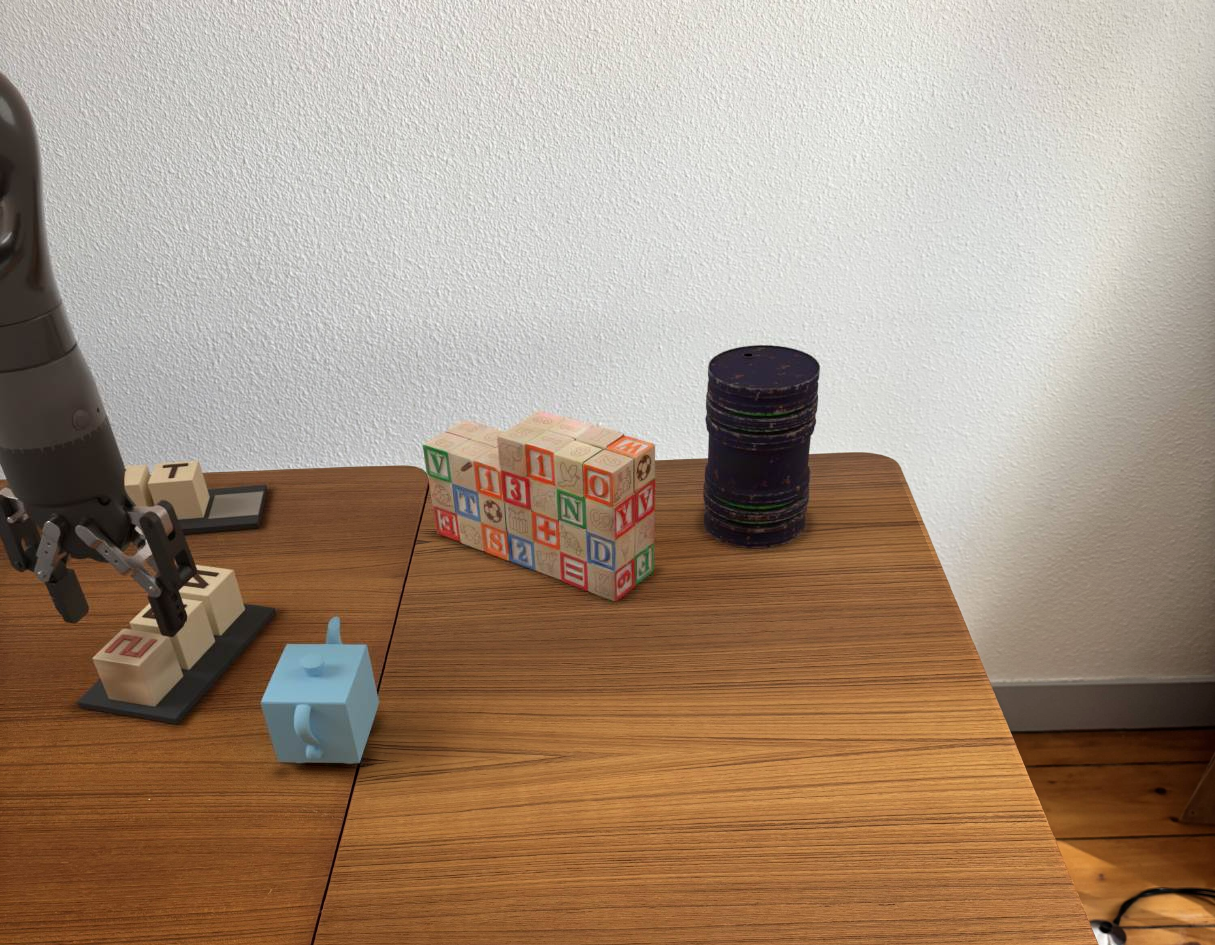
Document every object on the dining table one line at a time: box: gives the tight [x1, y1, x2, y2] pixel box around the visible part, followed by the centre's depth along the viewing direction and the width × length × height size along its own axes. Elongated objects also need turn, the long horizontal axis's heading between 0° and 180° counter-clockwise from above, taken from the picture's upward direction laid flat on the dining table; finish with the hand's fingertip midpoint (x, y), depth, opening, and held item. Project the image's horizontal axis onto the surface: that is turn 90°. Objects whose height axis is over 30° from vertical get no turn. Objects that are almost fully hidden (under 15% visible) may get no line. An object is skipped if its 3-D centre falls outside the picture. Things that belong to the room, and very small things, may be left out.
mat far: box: [124, 460, 268, 535], centre depth 111 cm, size 15×8×5 cm, turn 96°
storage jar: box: [702, 344, 821, 549], centre depth 103 cm, size 10×10×15 cm
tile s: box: [92, 628, 183, 707], centre depth 89 cm, size 4×4×4 cm
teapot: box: [260, 616, 380, 765], centre depth 84 cm, size 12×6×8 cm, turn 177°
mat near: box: [76, 564, 277, 725], centre depth 93 cm, size 9×16×5 cm, turn 164°
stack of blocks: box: [422, 409, 656, 602], centre depth 101 cm, size 21×6×12 cm, turn 54°
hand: (125, 624), depth 87 cm, fingers open, 8 cm apart
